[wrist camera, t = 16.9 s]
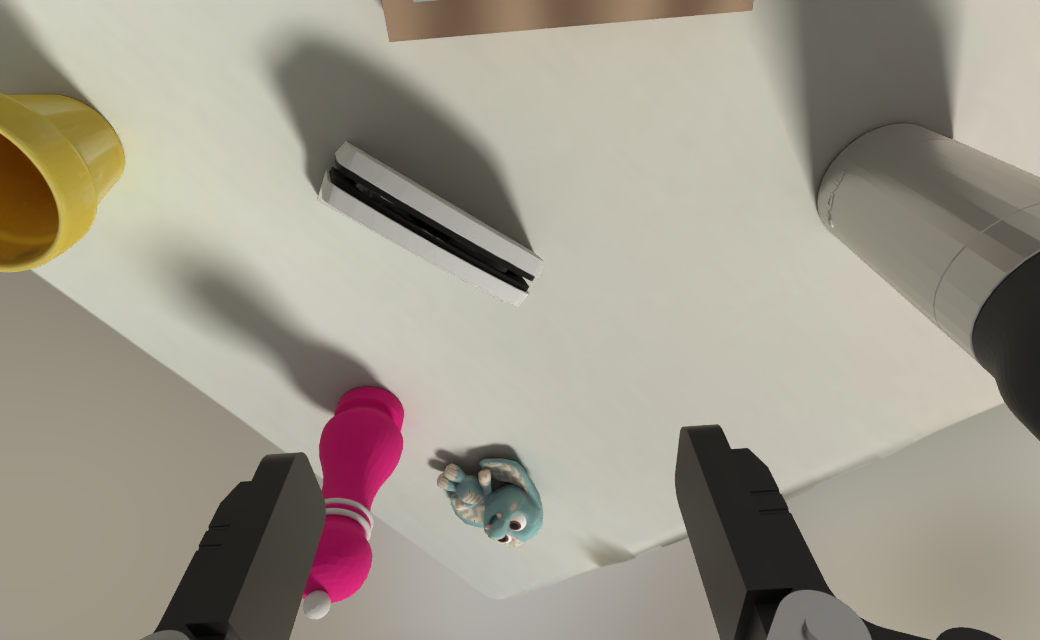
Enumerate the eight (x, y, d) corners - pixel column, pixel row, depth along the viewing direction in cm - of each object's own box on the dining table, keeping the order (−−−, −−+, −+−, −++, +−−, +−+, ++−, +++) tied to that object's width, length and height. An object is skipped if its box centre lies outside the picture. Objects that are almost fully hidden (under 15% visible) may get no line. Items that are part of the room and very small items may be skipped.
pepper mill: (395, 375, 52) (345, 580, 35) (418, 430, 56) (383, 637, 39) (321, 388, 52) (237, 595, 36) (349, 442, 56) (285, 650, 40)
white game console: (314, 195, 42) (291, 209, 33) (343, 138, 41) (329, 136, 32) (502, 298, 47) (529, 336, 38) (531, 250, 47) (566, 275, 37)
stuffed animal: (457, 470, 51) (565, 532, 53) (474, 421, 58) (569, 478, 60) (405, 533, 56) (506, 588, 58) (426, 481, 63) (515, 532, 65)
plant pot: (-1, 27, 35) (-151, 52, 27) (170, 119, 39) (81, 166, 31) (-19, 163, 40) (-152, 219, 32) (134, 235, 43) (49, 302, 35)
